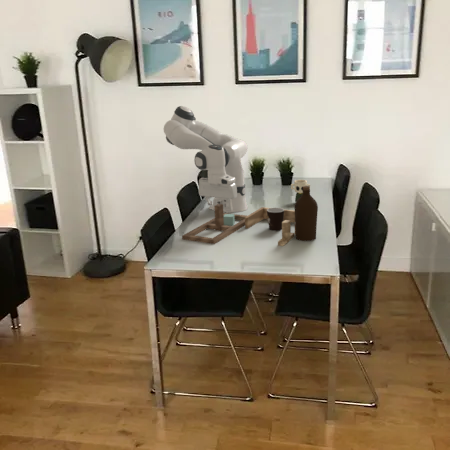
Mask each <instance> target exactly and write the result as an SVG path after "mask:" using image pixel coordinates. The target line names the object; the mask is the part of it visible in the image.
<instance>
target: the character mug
mask: <svg viewBox="0 0 450 450" xmlns="http://www.w3.org/2000/svg"><path fill="white" fill-rule="evenodd" d="M303 186H310V187H311V184H310V183H308V181H307V180H306V179H296V180H294V183H291V184H290V189H291V190H293V191H294V192H295V198H294V199H295V200H294V202H295V203H296V201H297V200H298V199H299V198H300V197H301V196H302V194H303Z"/></svg>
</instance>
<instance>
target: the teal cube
mask: <svg viewBox="0 0 450 450" xmlns="http://www.w3.org/2000/svg"><path fill="white" fill-rule="evenodd" d="M234 214H235V213H229V214H225V215H224V225H226V226H234V225H235V221H236V220H235V218H234Z"/></svg>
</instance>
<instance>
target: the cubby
mask: <svg viewBox="0 0 450 450" xmlns="http://www.w3.org/2000/svg"><path fill="white" fill-rule="evenodd" d="M269 208H270V207H266V206H265V207H263V206H261V207H260V208H258V209H257V210H254V211H253V212H251V213H250V214H248V215H246V217H245V226H244V228H245V229H250V228H252V227H253V226H254V225H256V224H258V223H260V222H261V221H263V220H268V216H267V209H269ZM285 220H290V221H291V223H294V222H295V209H294V210H293V209H284V217H283V221H285ZM294 236H296V230H295V229H294Z"/></svg>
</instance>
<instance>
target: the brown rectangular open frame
mask: <svg viewBox="0 0 450 450" xmlns="http://www.w3.org/2000/svg"><path fill="white" fill-rule="evenodd" d="M214 207H215V210H214V217H213V218H212V219H210V220H208V221H206V222H204V223H203V224H201V225H199V226H198V227H196V228H193V229H192V230H190V231H188V232H187V233H183V234H182V236H181V239H182V240H184V241H191V242H192V241H193V242H198V243H206V244H211V245H212V244H213V245H215V244H217V243H219V242H220V241H222V240H224V239H225V238H227V237H229V236H231V235H232V234H234V233H235V232H237V231H238V230H241V229H242V228H245V217H246V216H247V215H245V214H237V213H236V214H235V213H233V214H234V218H235V221H239V222H237V223H236V224H235V223H234V225H224V215H225V214H230V213H225V212H223V204H217V205H215V206H214ZM207 228H210V229H209V230H214V229H215V231H218V232H219V231H220V232H221V231H222V232H221V233H219V234H218V235H216V236H214V237H209V236H207V237H206V236H200V235H198V234H200V233H202V232H204V231H206V230H208V229H207ZM205 229H206V230H205Z"/></svg>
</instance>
